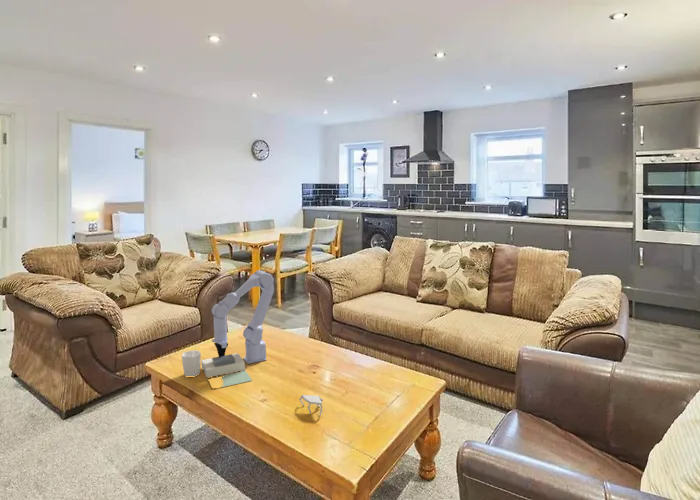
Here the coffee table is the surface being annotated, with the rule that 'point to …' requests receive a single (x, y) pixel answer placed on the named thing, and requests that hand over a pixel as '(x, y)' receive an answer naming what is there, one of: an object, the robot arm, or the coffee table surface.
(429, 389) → the coffee table surface
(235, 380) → the mat
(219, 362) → the gray rectangular block
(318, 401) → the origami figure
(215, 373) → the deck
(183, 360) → the white cup
